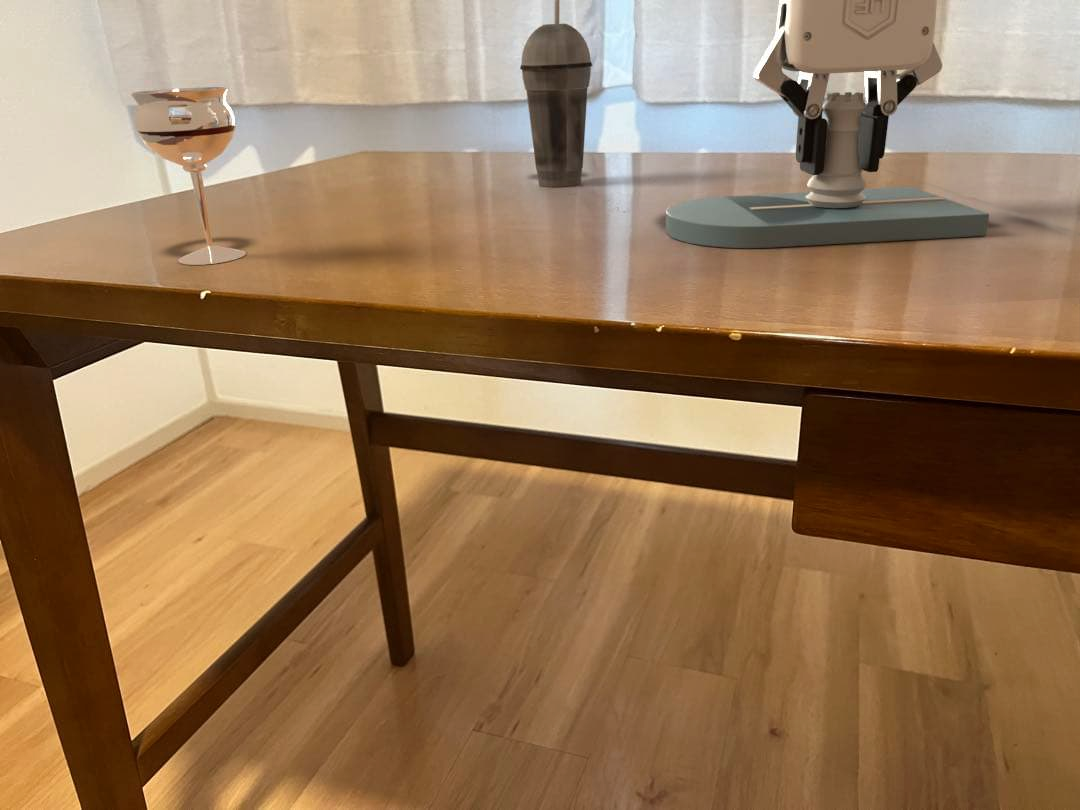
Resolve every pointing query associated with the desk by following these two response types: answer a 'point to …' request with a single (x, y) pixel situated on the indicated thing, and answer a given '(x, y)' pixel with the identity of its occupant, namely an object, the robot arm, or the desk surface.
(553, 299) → the desk surface
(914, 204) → the board
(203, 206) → the wineglass
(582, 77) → the beverage cup
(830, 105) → the rook chess piece
